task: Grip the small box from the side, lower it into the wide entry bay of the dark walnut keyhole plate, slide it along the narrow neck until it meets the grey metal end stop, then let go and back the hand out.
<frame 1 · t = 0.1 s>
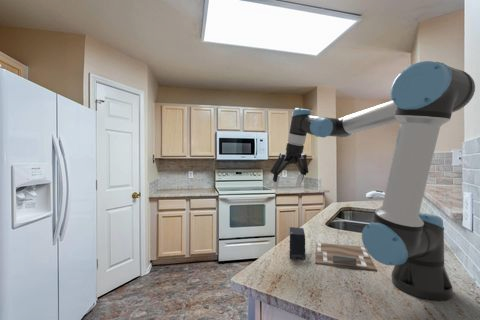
hand: (286, 187, 112), 28 cm above the counter, tool tilted 20°, fingers open, 13 cm apart
keyhole plate: (342, 255, 100), on the counter
small box: (297, 255, 101), on the counter
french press: (404, 240, 118), on the counter
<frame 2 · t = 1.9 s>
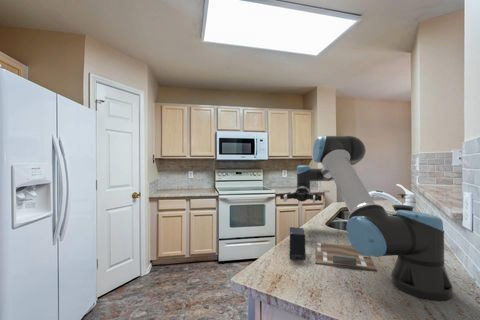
hand: (298, 199, 112), 22 cm above the counter, tool horizontal, fingers open, 13 cm apart
nothing on the counter moved.
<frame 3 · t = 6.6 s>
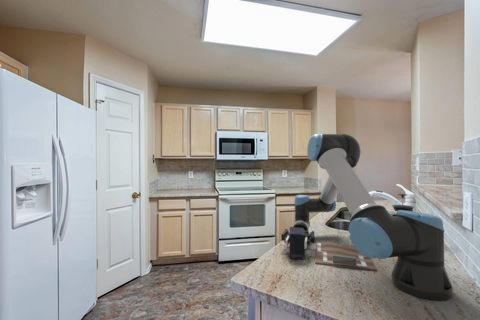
hand: (295, 244, 96), 6 cm above the counter, tool horizontal, fingers closed on small box, 7 cm apart
small box: (297, 255, 101), on the counter, touching gripper
everything else where it was.
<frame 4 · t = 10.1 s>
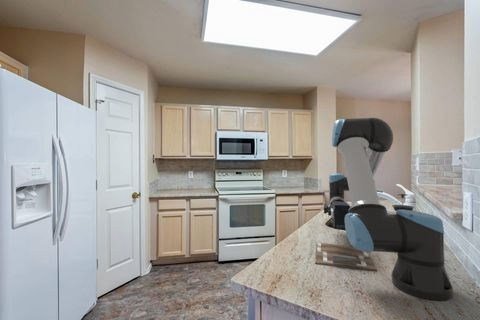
hand: (341, 214, 99), 17 cm above the counter, tool horizontal, fingers closed on small box, 6 cm apart
small box: (340, 227, 104), point 11 cm above the counter, touching gripper
everything else where it was.
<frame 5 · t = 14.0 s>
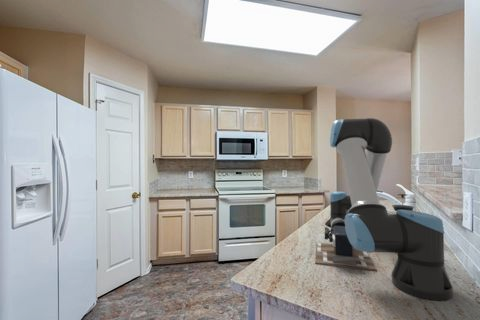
hand: (344, 243, 89), 8 cm above the counter, tool horizontal, fingers closed on small box, 6 cm apart
small box: (343, 255, 95), point 1 cm above the counter, touching gripper, keyhole plate
everything else where it was.
when the fingers open (8 cm above the counter, at t = 14.8 s): small box drops 1 cm, resting on keyhole plate.
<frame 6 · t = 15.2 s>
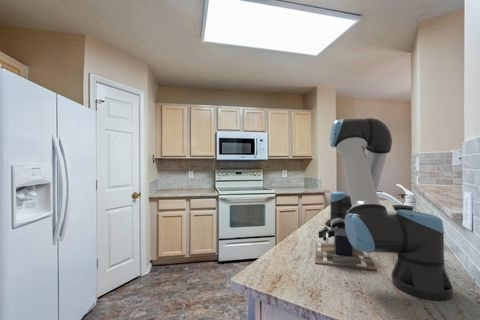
hand: (343, 242, 90), 8 cm above the counter, tool horizontal, fingers open, 11 cm apart
small box: (343, 258, 95), resting on keyhole plate
everything else where it was.
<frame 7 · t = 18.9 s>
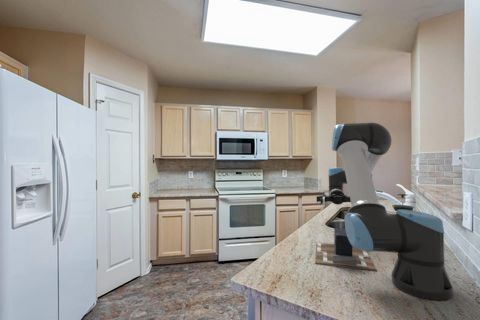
hand: (339, 202, 106), 21 cm above the counter, tool horizontal, fingers open, 13 cm apart
nothing on the counter moved.
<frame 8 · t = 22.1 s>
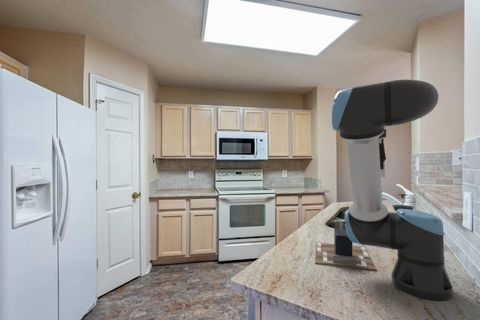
hand: (377, 176, 106), 33 cm above the counter, tool pointing down, fingers open, 13 cm apart
nothing on the counter moved.
at the end: small box 1.4 cm from the target spot on the keyhole plate, point 0.4 cm above the keyhole plate's base; small box tilted 0°; the gripper is holding nothing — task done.
